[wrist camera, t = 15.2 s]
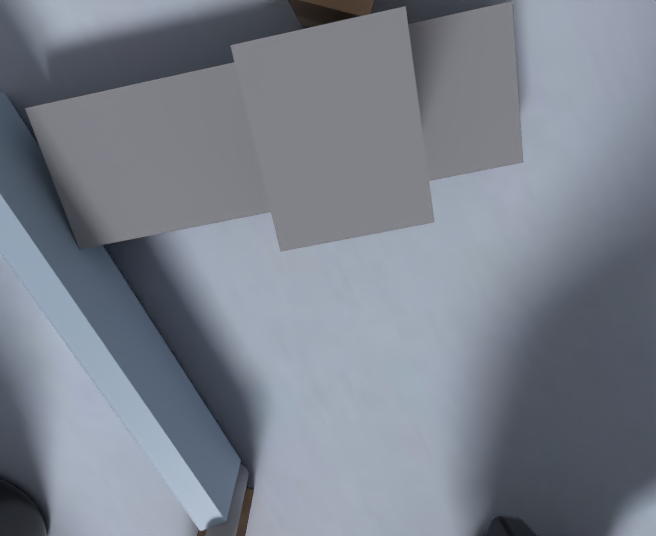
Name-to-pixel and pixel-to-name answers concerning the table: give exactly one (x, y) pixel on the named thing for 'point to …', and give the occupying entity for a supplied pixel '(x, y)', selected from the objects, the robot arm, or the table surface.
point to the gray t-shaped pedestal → (293, 131)
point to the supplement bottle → (18, 513)
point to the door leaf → (113, 337)
